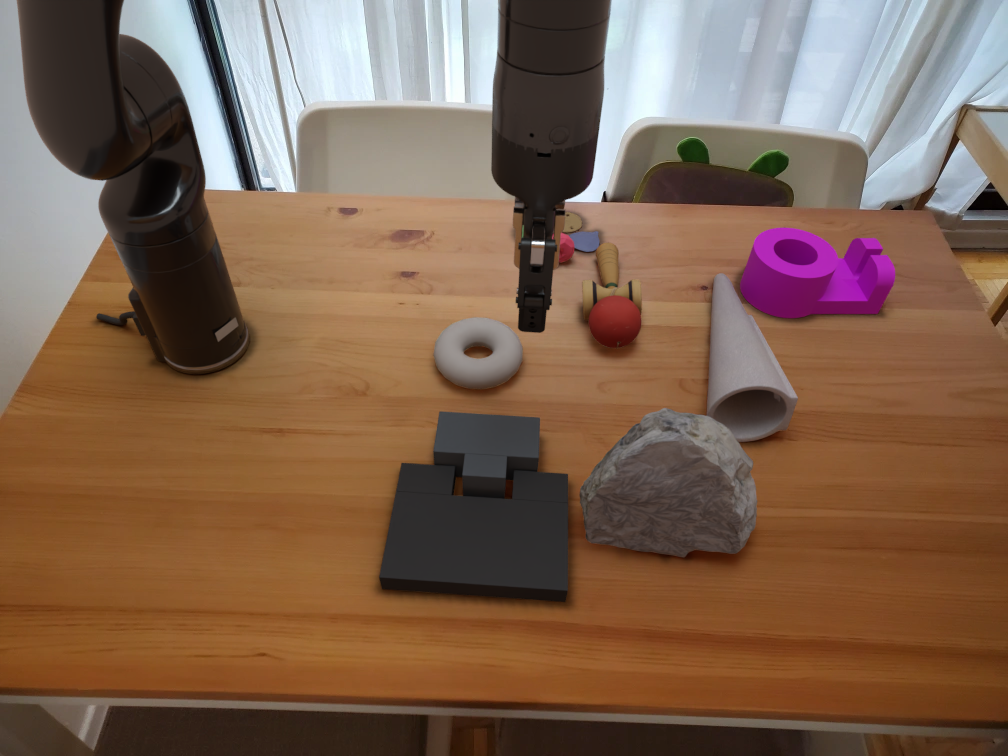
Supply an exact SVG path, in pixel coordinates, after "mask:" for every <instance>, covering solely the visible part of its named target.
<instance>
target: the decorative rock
mask: <svg viewBox="0 0 1008 756" xmlns="http://www.w3.org/2000/svg"><path fill="white" fill-rule="evenodd" d="M753 467H754V461H753V459H752V458H751V457H750V456H749V455H748V454H747V453H746V451H745V450H744V449H743V446H742V445H741V444H740V442H738V441H737V440H736V439H735V437H734V435H733V434H732V432H731V431H730V429H728V428H727V427H726V426H725V425H723V424H722V423H719V422H717V421H715V420H714V419H713V418H711V417H709V416H707V415H704V414H696V413H693V412H679V411H675V410H673V409H671V408H668V407H663V408H661V409H659V410H657V411H652V412H649V413H647V414H644V415H643V417H642V418H641V420H640V422H638V423H635V424H634V425H633V426H632V427H631V428H630V429H629V430H628V431H627V432H626V433H625V434H624V435H623V436H622V437H620V438H619V440H617V442H615V444H614V445H613V446H612V447H611V448H610V449H609V450H608V451H607V452H606V453H605V455H604V456H603V457H602V459H601V460H600V461H599V462H597V464H595V466H594V467H593V469H592V471H591V472H590V475H589V476H587V478H586V479H585V480H584V481H583V482H582V483H583V484H582V485H581V486H580V487H579V496H578V497H579V504H580V507H581V510H582V517H583V526H584V531H585V534H584V537H585V540H586V541H587V542H588V543H590V544H593V545H603V546H612V547H616V548H622V549H627V550H632V551H638V552H642V553H643V552H646V553H656V554H659V555H669V556H675V557H679V558H685V557H687V555H688V554H689V553H691V552H693V551H702V552H709V553H712V552H713V553H714V552H716V553H724V554H729V555H732V554H733V555H734V554H737V553H739V552H741V551H742V549H743V548H745V547H746V544H747V542H748V540H749V538H750V535H751V533H752V532H753V531H754V530H755V528H756V524H757V516H758V514H757V513H758V511H757V510H758V507H757V505H758V498H757V497H758V496H757V486H756V482H755V479H754V477H753V476H752V473H751V472H752V470H753Z"/></svg>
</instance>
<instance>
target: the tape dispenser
mask: <svg viewBox="0 0 1008 756" xmlns="http://www.w3.org/2000/svg"><path fill="white" fill-rule="evenodd" d="M753 241H754V242H753V243H752V246H751V250H750V253H749V256H748V258H747V262H746V264H745V266H744V271H743V273H742V276H741V278H740V282H739V290H740V293H741V294H742V296H743V298H744V299H745V300H746V301H747V302H748V303H749V304H750V305H751V306H753V308H755V309H757V310H759V311H761V312H763V313H765V314H767V315H770V316H773V317H777V318H781V319H782V318H783V319H798V318H804V317H808V316H810V315H878V314H879V313H880V310H881V309H882V307H883V305H884V303H885V301H886V299H887V298H888V296H889V294H890V292H891V290H892V288H893V287H894V285H895V282H896V281H895V280H896V268H895V265H894V263H893V261H892V259H891V258H890V257H889V256H888V254H882V253H883V250H884V248H883V246H882V244H881V243H880V241H879V240H878V239H877V238H876V237H855V238H853V239H852V240H851V242H850V243H849V245H848V247H847V249H846V252H845V254H844V256H843V258H841V257H839V255H838V253H837V251H836V250H835V248H834V247H833V246H832V245H831V244H830V243H829V242H828V241H827V240H825V239H824V238H822V237H821V236H818V235H817V234H814V233H812V232H810V231H806V230H803V229H799V228H795V227H774V228H769V229H766V230H764V231H762V232H760V233H759V234H758V235H757V236H756V237H755V239H754V240H753Z"/></svg>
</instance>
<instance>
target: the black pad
mask: <svg viewBox="0 0 1008 756" xmlns="http://www.w3.org/2000/svg"><path fill="white" fill-rule="evenodd" d="M397 480H398V481H397V485H396V490H395V493H394V499H393V503H392V510H391V515H390V520H389V525H388V530H387V536H386V540H385V545H384V550H383V555H382V561H381V566H380V569H379V570H380V571H379V576H378V578H379V583H380V588H381V590H388V591H400V592H401V591H402V592H416V593H431V594H432V593H433V594H445V595H458V596H474V597H488V598H500V599H513V600H516V599H517V600H528V601H543V602H558V603H566V602H567V598H568V592H569V473H563V472H550V471H549V472H546V471H538V472H534V471H519V470H514V476H513V480H512V492H511V493H512V494H511V498H505V499H501V498H486V497H471V496H463V495H455V490H456V483H457V477H456V468H455V466H444V465H434V464H427V463H413V462H401V463H400V469H399V474H398V479H397Z"/></svg>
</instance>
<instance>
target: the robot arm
mask: <svg viewBox="0 0 1008 756" xmlns="http://www.w3.org/2000/svg"><path fill="white" fill-rule="evenodd" d="M612 3H613V0H497V43H496V44H497V45H496V47H497V48H496V58H495V66H494V67H495V68H494V72H493V77H492V78H493V79H492V80H493V81H492V102H491V103H492V104H491V107H492V108H491V109H492V110H491V162H490V163H491V165H490V166H491V167H490V168H491V169H490V171H491V176H492V179H493V181H494V182H495V184H496V185H497V186H498V187H499V188H500V189H501V190H502V191H503V192H505V193H506V194H508V195H510V196H512V197H514V206H513V210H512V211H513V213H512V214H513V215H512V228H513V229H514V232H515V234H514V235H515V236H514V251H513V265H514V266H515V267H516V268H517V269H518V286H517V287H516V295H517V296H515V304H517V305H516V308H517V309H518V315H517V316H518V317H517V318H518V319H517V329H518V330H519V332H522V333H535V334H540V333H541V334H542V333H544V331H545V330H546V322H547V312H548V311H550V308H551V306H553V298H552V295H553V289H552V286H553V278H554V277H553V276H554V271H555V270H557V269H558V267H559V264H560V262H559V252H560V238H561V233H563V232H562V231H563V230H564V228H565V214H566V212H567V209H565V205H566V201H567V200H572V199H573V198H575V197H577V196H579V195H581V194H583V192H585V191H586V190H587V189H588V188H589V186H590V185H591V183H592V181H593V179H594V172H595V165H596V158H597V157H596V156H597V150H598V142H599V141H598V140H599V134H600V127H601V118H602V112H603V103H604V98H605V97H604V95H605V61H606V52H607V44H608V36H609V35H608V34H609V28H610V22H611V21H610V20H611V11H612ZM124 4H125V0H16V6H17V16H18V27H19V38H20V49H21V50H20V51H21V62H22V73H23V84H24V91H25V97H26V103H27V108H28V111H29V115H30V118H31V120H32V122H33V125H34V128H35V130H36V132H37V134H38V136H39V138H40V140H41V141H42V142H43V144H44V146H45V147H46V148H47V149H48V151H49V153H50V154H51V155H52V156H53V157H54V158H55V159H56V161H58V162H59V163H60V164H61V165H62V166H63V167H65V168H66V169H67V170H69V171H70V172H71V173H74V174H75V175H77V176H78V177H81V178H83V179H87V180H91V181H101V182H102V181H105V182H104V184H103V187H102V189H101V191H100V194H99V197H98V203H97V205H98V206H97V207H98V213H99V215H100V218H101V220H102V223H103V225H104V227H105V229H106V232H107V233H108V235H109V237H110V240H111V242H112V244H113V246H114V249H115V250H116V252H117V253H116V254H117V255H118V257H119V259H120V262H121V264H122V266H123V268H124V270H125V273H126V275H127V277H128V279H129V281H130V283H131V286H132V288H131V289H130V290H129V292H128V296H127V298H128V300H129V303H130V305H131V307H132V309H133V311H126V312H123V313H120V315H119V316H118V318H117V317H113V316H110V315H107V314H104V313H97V314H96V320H98V321H102V322H104V323H105V322H106V323H109V324H112V325H115V326H126V325H127V323H128V320H129V319H132V320H133V323H134V325H135V326H136V329H137V331H138V333H139V335H140V336H141V337H146V339H147V342H148V343H149V345H150V347H151V350H152V353H153V355H154V356H155V358H156V361H157V362H161V363H162V362H163V363H166V364H167V365H168V366H169V367H171V368H172V369H173V370H175V371H177V372H180V373H184V374H188V375H204V374H209V373H213V372H218V371H220V370H222V369H225V368H227V367H228V366H231V365H232V364H234V363H235V362H237V361H238V360H239V359H240V358H241V357H242V356H243V355H244V354H245V352H246V350H247V349H248V347H249V345H250V339H251V338H250V337H251V336H250V331H249V329H248V326H247V324H246V321H245V319H244V317H243V313H242V311H241V307H240V304H239V300H238V298H237V295H236V292H235V288H234V286H233V282H232V279H231V276H230V273H229V270H228V267H227V263H226V261H225V257H224V255H223V251H222V248H221V245H220V242H219V239H218V236H217V233H216V230H215V227H214V224H213V221H212V218H211V214H210V212H209V211H210V210H209V208H208V205H207V201H206V199H205V192H206V185H207V184H206V182H207V181H206V180H207V177H206V169H205V166H204V165H205V164H204V162H203V158H202V153H201V150H200V147H199V146H200V145H199V142H198V137H197V135H196V130H195V127H194V122H193V118H192V114H191V110H190V108H189V104H188V101H187V99H186V96H185V94H184V90H183V88H182V86H181V84H180V82H179V80H178V78H177V76H176V75H175V73H174V71H173V69H171V67H170V65H169V64H168V63H167V62H166V60H164V58H163V57H161V55H160V54H159V53H158V52H157V51H156V50H155V49H154V48H152V46H150V45H148V44H147V43H146V42H144V41H142V40H141V39H139V38H138V37H137V38H136V37H134V36H131V35H129V34H124V33H120V32H121V31H120V30H121V18H122V13H123V7H124ZM523 225H524V226H523ZM523 227H524V229H523ZM522 229H523V237H522ZM553 233H554V235H553ZM552 237H553V239H552Z"/></svg>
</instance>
